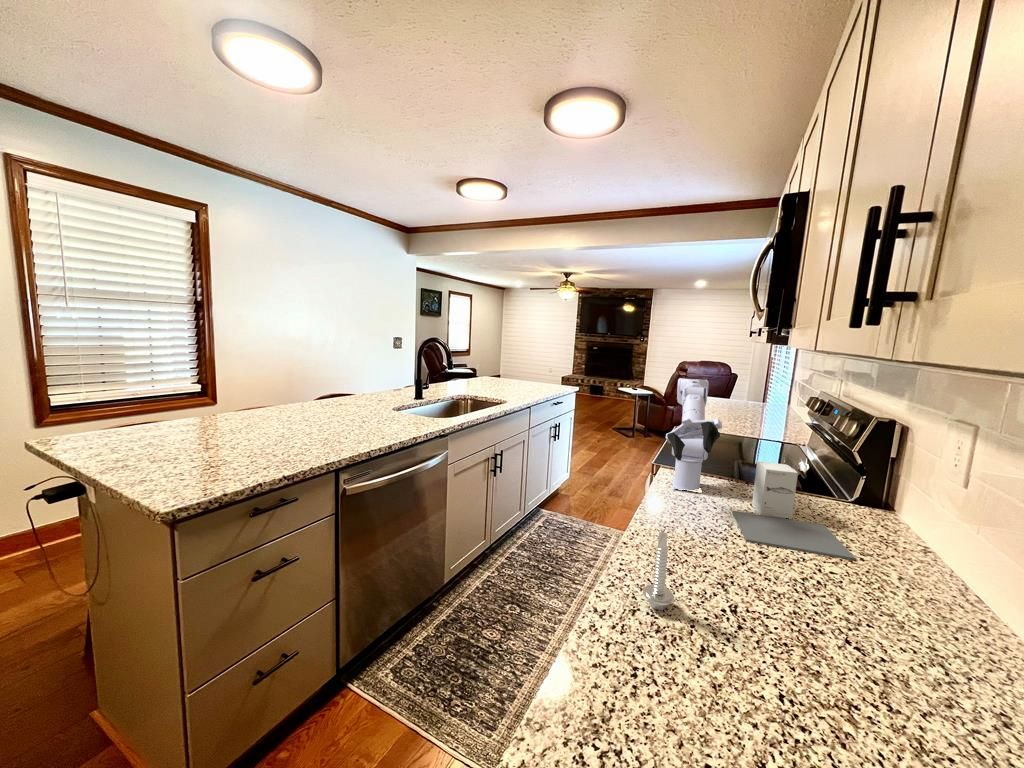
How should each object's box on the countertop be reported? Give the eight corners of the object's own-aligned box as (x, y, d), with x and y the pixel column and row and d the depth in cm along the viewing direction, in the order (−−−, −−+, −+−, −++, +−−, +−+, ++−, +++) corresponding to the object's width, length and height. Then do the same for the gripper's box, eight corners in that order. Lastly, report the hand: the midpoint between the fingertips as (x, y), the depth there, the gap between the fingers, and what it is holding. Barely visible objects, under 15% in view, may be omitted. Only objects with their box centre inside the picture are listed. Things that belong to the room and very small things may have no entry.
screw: (673, 618, 63) (641, 610, 64) (672, 600, 67) (642, 593, 69) (680, 541, 61) (647, 535, 63) (678, 528, 66) (647, 522, 67)
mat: (732, 512, 103) (732, 510, 103) (823, 526, 97) (824, 524, 96) (745, 541, 88) (746, 539, 88) (855, 560, 82) (855, 558, 82)
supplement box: (759, 515, 102) (765, 468, 100) (751, 504, 109) (756, 460, 107) (793, 520, 99) (798, 472, 98) (782, 508, 107) (787, 463, 105)
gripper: (661, 415, 113) (657, 450, 103) (712, 399, 103) (712, 435, 94) (674, 432, 115) (671, 468, 105) (725, 417, 105) (727, 455, 96)
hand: (691, 454), depth 100 cm, fingers open, 7 cm apart
